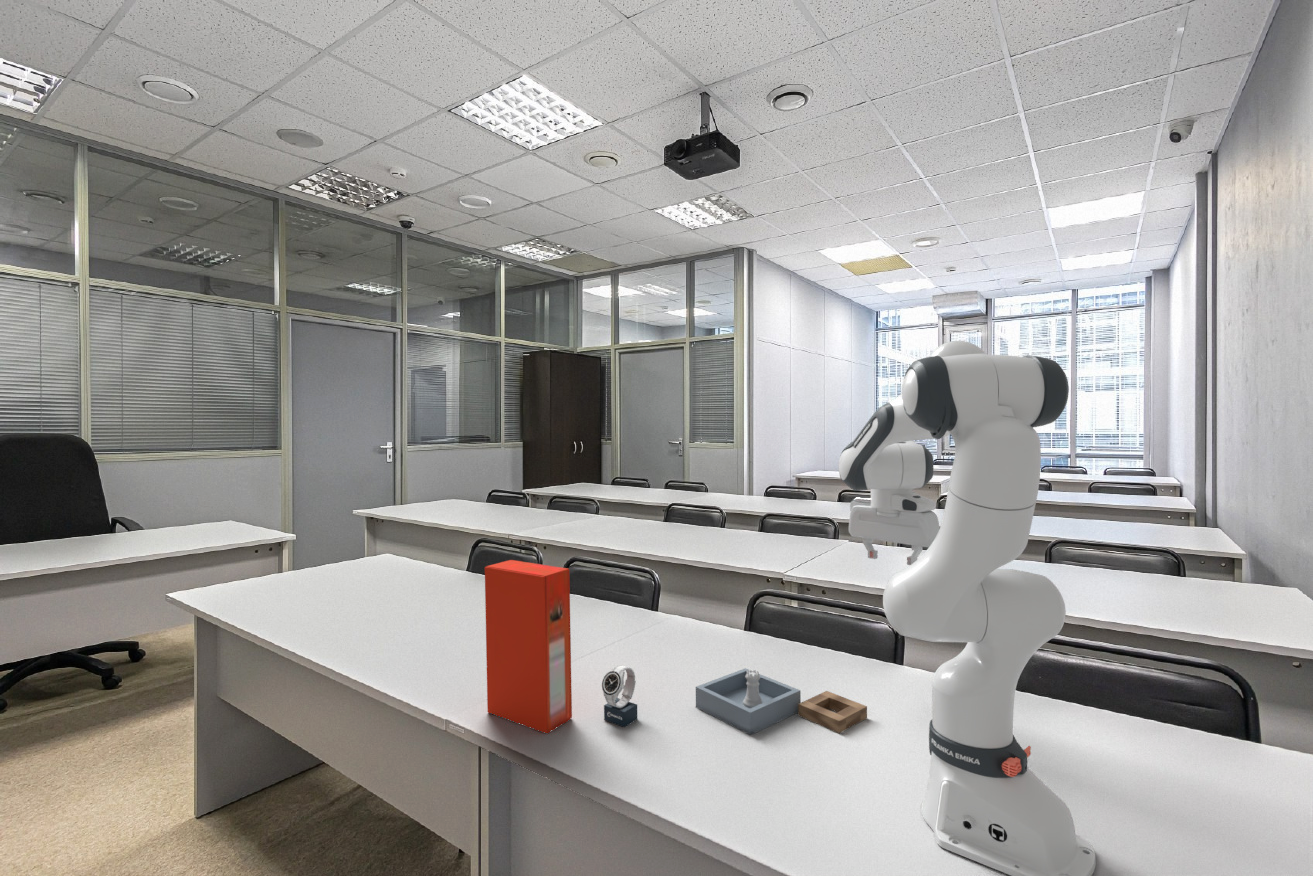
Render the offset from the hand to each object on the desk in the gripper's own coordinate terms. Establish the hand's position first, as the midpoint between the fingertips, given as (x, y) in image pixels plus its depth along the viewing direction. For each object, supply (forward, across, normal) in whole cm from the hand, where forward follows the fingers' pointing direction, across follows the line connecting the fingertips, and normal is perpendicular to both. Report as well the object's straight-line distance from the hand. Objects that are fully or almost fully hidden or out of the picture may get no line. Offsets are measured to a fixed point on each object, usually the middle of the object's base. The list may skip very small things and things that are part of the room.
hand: (891, 561), depth 135 cm
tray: (+31, -18, -28) cm, 45 cm away
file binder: (+31, -46, -66) cm, 86 cm away
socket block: (+31, -4, -17) cm, 36 cm away
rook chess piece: (+30, -16, -29) cm, 45 cm away
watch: (+31, -32, -52) cm, 69 cm away
